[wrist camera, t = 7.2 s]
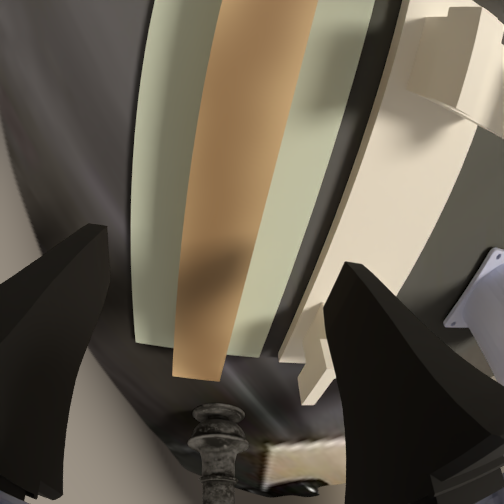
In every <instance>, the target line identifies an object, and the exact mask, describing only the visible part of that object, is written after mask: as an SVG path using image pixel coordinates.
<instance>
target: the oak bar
mask: <svg viewBox="0 0 504 504" xmlns="http://www.w3.org/2000/svg"><path fill="white" fill-rule="evenodd" d="M317 3H318V0H222V3H221V7H220V11H219V16H218V20H217V24H216V29H215V33H214V38H213V43H212V47H211V52H210V57H209V62H208V67H207V72H206V77H205V82H204V88H203V93H202V99H201V105H200V110H199V116H198V122H197V128H196V135H195V141H194V148H193V154H192V161H191V168H190V176H189V183H188V191H187V199H186V207H185V215H184V224H183V233H182V243H181V253H180V264H179V275H178V287H177V301H176V315H175V332H174V351H173V376H176V377H184V378H192V379H201V380H210V381H220V377H221V373H222V369H223V366H224V362H225V358H226V354H227V350H228V346H229V343H230V339H231V335H232V331H233V327H234V323H235V320H236V316H237V312H238V308H239V304H240V300H241V296H242V293H243V289H244V285H245V281H246V277H247V273H248V270H249V266H250V262H251V258H252V254H253V250H254V246H255V243H256V239H257V235H258V231H259V227H260V223H261V220H262V216H263V212H264V208H265V204H266V200H267V196H268V193H269V189H270V185H271V181H272V177H273V173H274V169H275V166H276V162H277V158H278V154H279V150H280V146H281V142H282V138H283V135H284V131H285V127H286V123H287V119H288V115H289V111H290V108H291V104H292V100H293V96H294V92H295V88H296V84H297V80H298V77H299V73H300V69H301V65H302V61H303V57H304V53H305V50H306V46H307V42H308V38H309V34H310V30H311V26H312V22H313V18H314V15H315V11H316V7H317Z"/></svg>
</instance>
